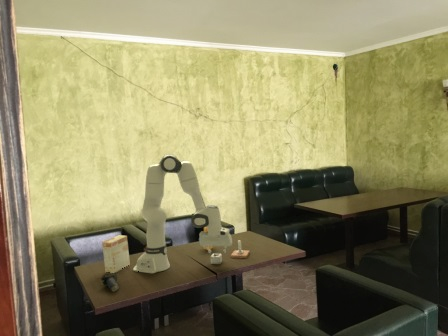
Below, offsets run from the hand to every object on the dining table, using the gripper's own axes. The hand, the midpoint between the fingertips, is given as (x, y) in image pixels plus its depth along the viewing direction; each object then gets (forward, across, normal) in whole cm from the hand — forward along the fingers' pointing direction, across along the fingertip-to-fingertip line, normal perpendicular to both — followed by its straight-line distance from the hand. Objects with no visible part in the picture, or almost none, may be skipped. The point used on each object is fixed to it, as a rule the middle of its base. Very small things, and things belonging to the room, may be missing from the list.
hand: (217, 252), depth 230 cm
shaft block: (+6, +12, +13) cm, 18 cm away
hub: (+6, -1, -1) cm, 6 cm away
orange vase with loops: (+6, -14, +25) cm, 30 cm away
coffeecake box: (+5, -61, -16) cm, 63 cm away
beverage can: (+5, -48, -43) cm, 65 cm away
